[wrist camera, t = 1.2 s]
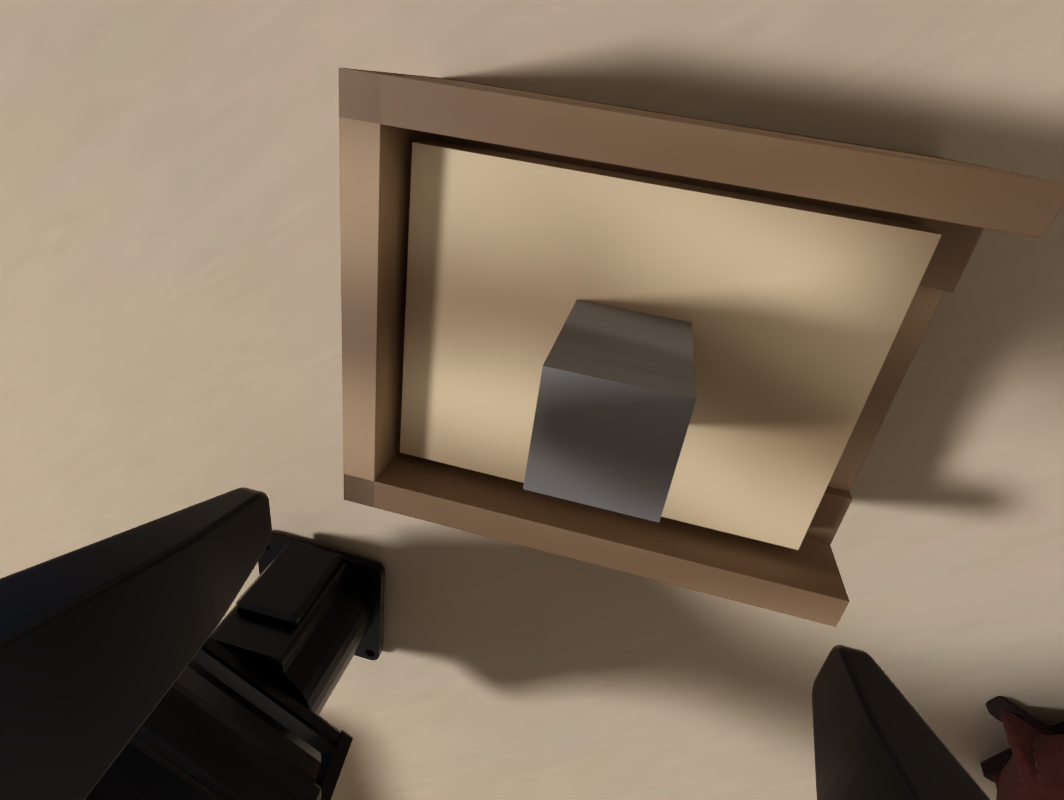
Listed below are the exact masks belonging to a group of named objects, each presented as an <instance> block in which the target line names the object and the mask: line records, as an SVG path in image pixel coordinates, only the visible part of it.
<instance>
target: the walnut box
mask: <svg viewBox="0 0 1064 800" xmlns="http://www.w3.org/2000/svg"><path fill="white" fill-rule="evenodd" d="M339 135H340V216H341V297H342V378H343V459H344V500H348V501H352V502H356V503H359V504H363V505H367V506H371V507H375V508H379V509H383V510H386V511H390V512H394V513H398V514H402V515H406V516H410V517H414V518H417V519H421V520H425V521H429V522H433V523H437V524H441V525H444V526H448V527H452V528H456V529H460V530H464V531H468V532H471V533H475V534H479V535H483V536H487V537H491V538H495V539H498V540H502V541H506V542H510V543H514V544H518V545H522V546H526V547H529V548H533V549H537V550H541V551H545V552H549V553H553V554H556V555H560V556H564V557H568V558H572V559H576V560H580V561H583V562H587V563H591V564H595V565H599V566H603V567H607V568H611V569H614V570H618V571H622V572H626V573H630V574H634V575H638V576H641V577H645V578H649V579H653V580H657V581H661V582H665V583H668V584H672V585H676V586H680V587H684V588H688V589H692V590H696V591H699V592H703V593H707V594H711V595H715V596H719V597H723V598H726V599H730V600H734V601H738V602H742V603H746V604H750V605H753V606H757V607H761V608H765V609H769V610H773V611H777V612H780V613H784V614H788V615H792V616H796V617H800V618H804V619H808V620H811V621H815V622H819V623H823V624H827V625H831V626H835V627H836V625H837V624H838V622H839V620H840V618H841V616H842V614H843V612H844V611H845V609H846V607H847V605H848V603H849V599H848V596H847V593H846V590H845V587H844V584H843V582H842V579H841V576H840V573H839V570H838V567H837V564H836V561H835V558H834V555H833V552H832V549H831V547H830V544H831V542H832V540H833V538H834V536H835V534H836V532H837V530H838V528H839V526H840V524H841V521H842V519H843V517H844V515H845V513H846V511H847V509H848V507H849V505H850V503H851V501H852V497H851V494H850V492H849V490H850V488H851V486H852V484H853V482H854V480H855V478H856V476H857V474H858V471H859V469H860V467H861V465H862V463H863V461H864V459H865V457H866V455H867V453H868V451H869V448H870V446H871V444H872V442H873V440H874V438H875V436H876V434H877V432H878V430H879V428H880V425H881V423H882V421H883V419H884V417H885V415H886V413H887V411H888V409H889V407H890V405H891V402H892V400H893V398H894V396H895V394H896V392H897V390H898V388H899V386H900V384H901V382H902V379H903V377H904V375H905V373H906V371H907V369H908V367H909V365H910V363H911V361H912V359H913V356H914V354H915V352H916V350H917V348H918V346H919V344H920V342H921V340H922V338H923V336H924V333H925V331H926V329H927V327H928V325H929V323H930V321H931V319H932V317H933V315H934V313H935V310H936V308H937V306H938V304H939V302H940V300H941V298H942V296H943V294H944V292H945V291H950V292H953V291H954V288H955V286H956V284H957V282H958V280H959V278H960V276H961V274H962V272H963V270H964V268H965V266H966V264H967V262H968V260H969V258H970V255H971V253H972V251H973V249H974V247H975V245H976V243H977V241H978V239H979V237H980V235H981V233H982V231H983V229H984V228H987V229H993V230H998V231H1004V232H1010V233H1016V234H1022V235H1028V236H1033V237H1039V238H1044V237H1045V235H1046V233H1047V232H1048V230H1049V228H1050V226H1051V224H1052V222H1053V220H1054V219H1055V217H1056V215H1057V213H1058V211H1059V209H1060V207H1061V205H1062V204H1063V202H1064V184H1062V183H1058V182H1053V181H1048V180H1044V179H1039V178H1034V177H1029V176H1025V175H1020V174H1015V173H1011V172H1006V171H1001V170H997V169H992V168H987V167H982V166H978V165H973V164H968V163H964V162H959V161H954V160H949V159H945V158H939V157H933V156H927V155H921V154H914V153H908V152H902V151H895V150H889V149H883V148H877V147H870V146H864V145H858V144H852V143H845V142H839V141H833V140H826V139H820V138H814V137H808V136H801V135H795V134H789V133H783V132H776V131H770V130H764V129H757V128H751V127H745V126H739V125H732V124H726V123H720V122H714V121H707V120H701V119H695V118H688V117H682V116H676V115H670V114H663V113H657V112H651V111H644V110H638V109H632V108H626V107H619V106H613V105H607V104H601V103H594V102H588V101H582V100H575V99H569V98H563V97H557V96H550V95H544V94H538V93H532V92H525V91H519V90H513V89H506V88H500V87H494V86H488V85H481V84H475V83H469V82H463V81H456V80H450V79H444V78H436V77H426V76H416V75H406V74H397V73H387V72H377V71H367V70H357V69H347V68H339ZM423 140H436V141H441V142H447V143H453V144H459V145H465V146H470V147H476V148H482V149H488V150H493V151H499V152H505V153H511V154H516V155H522V156H528V157H534V158H539V159H545V160H551V161H557V162H563V163H568V164H574V165H580V166H586V167H591V168H597V169H603V170H609V171H614V172H620V173H626V174H632V175H637V176H643V177H649V178H655V179H661V180H666V181H672V182H678V183H684V184H689V185H695V186H701V187H707V188H712V189H718V190H724V191H730V192H735V193H741V194H747V195H753V196H759V197H764V198H770V199H776V200H782V201H787V202H793V203H799V204H805V205H810V206H816V207H822V208H828V209H833V210H839V211H845V212H851V213H856V214H862V215H868V216H874V217H880V218H885V219H891V220H897V221H903V222H908V223H914V224H920V225H924V226H926V227H928V228H929V229H931V230H933V231H935V232H937V233H939V234H941V238H940V240H939V242H938V244H937V246H936V249H935V251H934V253H933V255H932V257H931V260H930V262H929V264H928V266H927V268H926V271H925V273H924V275H923V277H922V279H921V282H920V284H919V286H918V288H917V290H916V293H915V295H914V297H913V299H912V301H911V304H910V306H909V308H908V310H907V312H906V315H905V317H904V319H903V321H902V323H901V326H900V328H899V330H898V332H897V334H896V337H895V339H894V341H893V343H892V345H891V348H890V350H889V352H888V354H887V356H886V359H885V361H884V363H883V365H882V367H881V369H880V372H879V374H878V376H877V378H876V380H875V383H874V385H873V387H872V389H871V391H870V394H869V396H868V398H867V400H866V402H865V405H864V407H863V409H862V411H861V413H860V416H859V418H858V420H857V422H856V424H855V427H854V429H853V431H852V433H851V435H850V438H849V440H848V442H847V444H846V446H845V449H844V451H843V453H842V455H841V457H840V460H839V462H838V464H837V466H836V468H835V471H834V473H833V475H832V477H831V479H830V482H829V484H828V486H827V488H826V490H825V493H824V495H823V497H822V499H821V501H820V504H819V506H818V508H817V510H816V512H815V515H814V517H813V519H812V521H811V523H810V526H809V528H808V530H807V532H806V534H805V537H804V539H803V541H802V543H801V545H800V548H799V550H796V549H792V548H788V547H784V546H779V545H775V544H771V543H767V542H763V541H759V540H755V539H751V538H747V537H743V536H739V535H735V534H730V533H726V532H722V531H718V530H714V529H710V528H706V527H702V526H698V525H694V524H690V523H686V522H681V521H677V520H673V519H669V518H665V517H661V518H660V522H659V523H658V522H654V521H650V520H646V519H642V518H638V517H634V516H630V515H626V514H622V513H618V512H614V511H610V510H606V509H601V508H597V507H593V506H589V505H585V504H581V503H577V502H573V501H569V500H565V499H561V498H557V497H553V496H549V495H545V494H541V493H537V492H532V491H528V490H524V489H523V485H524V483H522V482H518V481H514V480H510V479H506V478H502V477H498V476H494V475H490V474H486V473H482V472H477V471H473V470H469V469H465V468H461V467H457V466H453V465H449V464H445V463H441V462H437V461H433V460H428V459H424V458H420V457H416V456H412V455H408V454H404V453H400V435H401V410H402V386H403V361H404V336H405V311H406V286H407V262H408V237H409V212H410V187H411V163H412V142H417V141H423Z"/></svg>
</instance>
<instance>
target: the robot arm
mask: <svg viewBox="0 0 1064 800" xmlns="http://www.w3.org/2000/svg"><path fill="white" fill-rule="evenodd" d="M257 562H258V564H259V574H260V576H259V577H258V578H257V579H256V580H255V581H254V582H253V584H252V585H251V586H250V587H249V588H248V589H247V590H246V591H245V593H244V594H243V595H242V596H241V597H240V598H239V599H238V601H237V603H236V606H235V607H234V608H233V609H232V610H231V611H230V612H229V613H228V615H227V616H226V617H225V618H224V619H223V620H222V618H223V617H224V615H225V614H226V612H227V611H228V609H229V607H230V606H231V604H232V602H233V601H234V599H235V598H236V596H237V594H238V593H239V591H240V590H241V588H242V586H243V585H244V583H245V581H246V580H247V578H248V577H249V575H250V573H251V572H252V570H253V569H254V567H255V565H256V564H257ZM372 571H373V572H372ZM384 579H385V571H384V568H383V566H382V565H381V564H380V563H378V562H376V561H372V560H368V559H365V558H361V557H357V556H354V555H350V554H346V553H343V552H339V551H335V550H331V549H328V548H324V547H320V546H317V545H313V544H309V543H306V542H302V541H298V540H295V539H291V538H287V537H284V536H280V535H276V534H272V526H271V517H270V507H269V499H268V497H267V495H266V494H265V493H263V492H260V491H257V490H253V489H249V488H238V489H235V490H233V491H230V492H227V493H225V494H222V495H219V496H217V497H214V498H212V499H209V500H206V501H204V502H201V503H198V504H196V505H193V506H190V507H188V508H185V509H183V510H180V511H177V512H175V513H172V514H169V515H167V516H164V517H162V518H159V519H156V520H154V521H151V522H148V523H146V524H143V525H140V526H138V527H135V528H133V529H130V530H127V531H125V532H122V533H119V534H117V535H114V536H112V537H109V538H106V539H104V540H101V541H98V542H96V543H93V544H90V545H88V546H85V547H83V548H80V549H77V550H75V551H72V552H69V553H67V554H64V555H61V556H59V557H56V558H54V559H51V560H48V561H46V562H43V563H40V564H38V565H35V566H33V567H30V568H27V569H25V570H22V571H19V572H17V573H14V574H11V575H9V576H6V577H4V578H1V579H0V800H331V797H332V794H333V791H334V789H335V786H336V783H337V780H338V778H339V775H340V772H341V769H342V766H343V764H344V761H345V758H346V755H347V753H348V750H349V747H350V744H351V742H352V739H353V738H352V737H351V736H350V735H348V734H347V733H346V732H344V731H343V730H342V731H341V732H340V731H339V730H338V729H336V728H335V727H334V726H332V725H331V724H329V723H328V722H327V721H325V720H324V719H323V718H321V717H320V716H319V713H320V712H321V710H322V708H323V707H324V705H325V703H326V702H327V700H328V698H329V696H330V695H331V693H332V691H333V690H334V688H335V686H336V684H337V683H338V681H339V679H340V678H341V676H342V674H343V673H344V671H345V669H346V667H347V666H348V664H349V662H350V661H351V659H352V657H353V655H356V656H359V657H363V658H366V659H370V660H376V659H378V658H379V656H380V654H381V652H382V646H383V612H384ZM221 620H222V621H221ZM220 621H221V623H220ZM219 623H220V624H219ZM218 624H219V625H218ZM812 708H813V729H814V750H815V771H816V790H817V800H990V799H989V797H988V796H987V795H986V794H985V793H984V791H983V790H982V789H981V788H980V787H979V785H978V784H977V783H976V782H975V781H974V779H973V778H972V777H971V776H970V775H969V773H968V772H967V771H966V770H965V769H964V767H963V766H962V765H961V764H960V763H959V761H958V760H957V759H956V758H955V757H954V755H953V754H952V753H951V752H950V751H949V749H948V748H947V747H946V746H945V745H944V743H943V742H942V741H941V740H940V739H939V737H938V736H937V735H936V734H935V733H934V731H933V730H932V729H931V728H930V727H929V725H928V724H927V723H926V722H925V721H924V719H923V718H922V717H921V716H920V715H919V713H918V712H917V711H916V710H915V709H914V707H913V706H912V705H911V704H910V703H909V701H908V700H907V699H906V698H905V697H904V695H903V694H902V693H901V692H900V691H899V689H898V688H897V687H896V686H895V685H894V683H893V682H892V681H891V680H890V679H889V677H888V676H887V675H886V674H885V673H884V671H883V670H882V669H881V668H880V667H879V665H878V664H877V663H876V662H875V661H874V659H873V658H872V657H871V656H870V655H869V654H867V653H866V652H864V651H861V650H857V649H854V648H850V647H846V646H842V645H837V646H835V647H834V648H833V649H832V650H831V651H830V653H829V655H828V657H827V659H826V661H825V662H824V664H823V666H822V668H821V670H820V672H819V673H818V675H817V677H816V679H815V681H814V685H813V690H812Z"/></svg>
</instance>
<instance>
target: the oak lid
mask: <svg viewBox="0 0 1064 800" xmlns="http://www.w3.org/2000/svg"><path fill="white" fill-rule="evenodd" d="M940 238H941V234H939V233H937V232H935V231H933V230H931V229H929V228H928V227H926V226H924V225H920V224H914V223H908V222H903V221H897V220H891V219H885V218H880V217H874V216H868V215H862V214H856V213H851V212H845V211H839V210H833V209H828V208H822V207H816V206H810V205H805V204H799V203H793V202H787V201H782V200H776V199H770V198H764V197H759V196H753V195H747V194H741V193H735V192H730V191H724V190H718V189H712V188H707V187H701V186H695V185H689V184H684V183H678V182H672V181H666V180H661V179H655V178H649V177H643V176H637V175H632V174H626V173H620V172H614V171H609V170H603V169H597V168H591V167H586V166H580V165H574V164H568V163H563V162H557V161H551V160H545V159H539V158H534V157H528V156H522V155H516V154H511V153H505V152H499V151H493V150H488V149H482V148H476V147H470V146H465V145H459V144H453V143H447V142H441V141H436V140H423V141H417V142H412V163H411V187H410V212H409V237H408V262H407V286H406V311H405V336H404V361H403V386H402V410H401V435H400V453H404V454H408V455H412V456H416V457H420V458H424V459H428V460H433V461H437V462H441V463H445V464H449V465H453V466H457V467H461V468H465V469H469V470H473V471H477V472H482V473H486V474H490V475H494V476H498V477H502V478H506V479H510V480H514V481H518V482H522V483H524V485H523V489H524V490H528V491H532V492H537V493H541V494H545V495H549V496H553V497H557V498H561V499H565V500H569V501H573V502H577V503H581V504H585V505H589V506H593V507H597V508H601V509H606V510H610V511H614V512H618V513H622V514H626V515H630V516H634V517H638V518H642V519H646V520H650V521H654V522H658V523H659V522H660V518H661V517H665V518H669V519H673V520H677V521H681V522H686V523H690V524H694V525H698V526H702V527H706V528H710V529H714V530H718V531H722V532H726V533H730V534H735V535H739V536H743V537H747V538H751V539H755V540H759V541H763V542H767V543H771V544H775V545H779V546H784V547H788V548H792V549H796V550H799V548H800V545H801V543H802V541H803V539H804V537H805V534H806V532H807V530H808V528H809V526H810V523H811V521H812V519H813V517H814V515H815V512H816V510H817V508H818V506H819V504H820V501H821V499H822V497H823V495H824V493H825V490H826V488H827V486H828V484H829V482H830V479H831V477H832V475H833V473H834V471H835V468H836V466H837V464H838V462H839V460H840V457H841V455H842V453H843V451H844V449H845V446H846V444H847V442H848V440H849V438H850V435H851V433H852V431H853V429H854V427H855V424H856V422H857V420H858V418H859V416H860V413H861V411H862V409H863V407H864V405H865V402H866V400H867V398H868V396H869V394H870V391H871V389H872V387H873V385H874V383H875V380H876V378H877V376H878V374H879V372H880V369H881V367H882V365H883V363H884V361H885V359H886V356H887V354H888V352H889V350H890V348H891V345H892V343H893V341H894V339H895V337H896V334H897V332H898V330H899V328H900V326H901V323H902V321H903V319H904V317H905V315H906V312H907V310H908V308H909V306H910V304H911V301H912V299H913V297H914V295H915V293H916V290H917V288H918V286H919V284H920V282H921V279H922V277H923V275H924V273H925V271H926V268H927V266H928V264H929V262H930V260H931V257H932V255H933V253H934V251H935V249H936V246H937V244H938V242H939V240H940Z"/></svg>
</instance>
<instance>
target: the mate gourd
mask: <svg viewBox="0 0 1064 800" xmlns="http://www.w3.org/2000/svg"><path fill="white" fill-rule="evenodd" d="M986 706H987V709H988V711H989V713H990V714H991V715H993V716H994V717H995V718H996V719H998V720H999V721H1001V722H1002V723H1003V726H1004V729H1005V731H1006V734H1007V738H1008V741H1009V744H1010V747H1011V748H1009V749H1007V750H1005V751H1003V752H1001V753H999V754H997V755H995V756H993V757H991V758H989V759H987V760H986V761H984V762H982V763H980V764H981V766H982V770H983V774H984V777H986V778H987V779H989V780H991V781H993V782H995V783H996V787H997V798H996V800H1064V722H1062V723H1060V724H1057V725H1055V726H1051V725H1047V724H1045V723H1044V722H1042V721H1040V720H1039V719H1037V718H1036V717H1034V716H1032V715H1031V714H1029V713H1028V712H1026V711H1025V710H1023V709H1022V708H1020V707H1019V706H1017V705H1016V704H1014V703H1013V702H1011V701H1009V700H1008V699H1006V698H1004V697H1002V696H998V697H995V698H993V699H991V700H990V701H988V702H987V703H986Z"/></svg>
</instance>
